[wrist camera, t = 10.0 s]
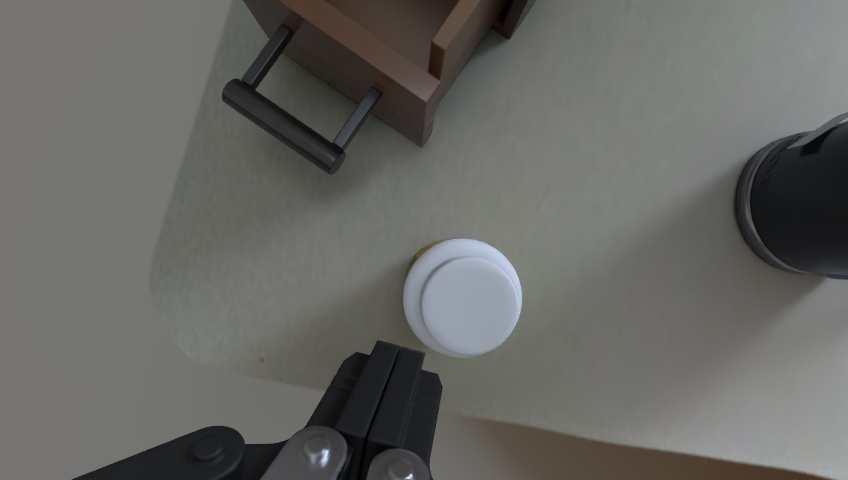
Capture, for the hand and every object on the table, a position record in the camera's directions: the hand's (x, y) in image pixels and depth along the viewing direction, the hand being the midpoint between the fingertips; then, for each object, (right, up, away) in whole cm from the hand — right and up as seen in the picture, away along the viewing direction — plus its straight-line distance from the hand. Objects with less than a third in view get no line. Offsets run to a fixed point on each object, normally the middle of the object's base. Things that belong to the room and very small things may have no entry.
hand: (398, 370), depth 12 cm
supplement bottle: (+2, +1, +14) cm, 14 cm away
